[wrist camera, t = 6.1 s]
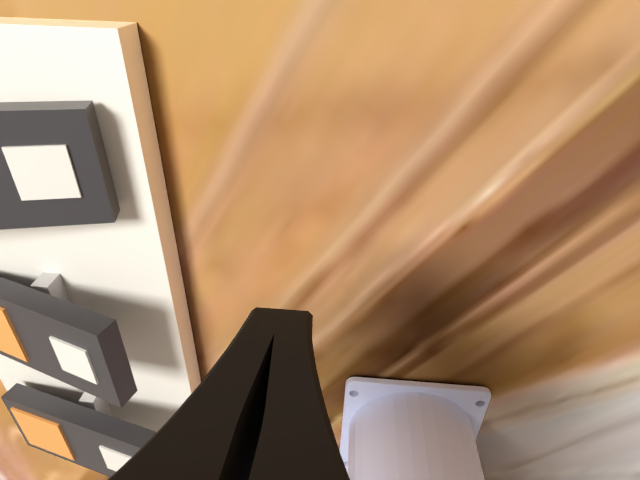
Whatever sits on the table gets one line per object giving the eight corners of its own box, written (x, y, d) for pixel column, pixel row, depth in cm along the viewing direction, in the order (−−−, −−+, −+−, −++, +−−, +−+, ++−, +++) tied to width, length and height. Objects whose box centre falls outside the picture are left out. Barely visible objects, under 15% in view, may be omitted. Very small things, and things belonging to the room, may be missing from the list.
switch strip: (211, 438, 29) (200, 476, 27) (50, 424, 30) (27, 460, 28) (136, 22, 16) (102, 33, 14) (-157, 10, 16) (-232, 19, 14)
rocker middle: (137, 390, 20) (119, 410, 19) (-1, 332, 23) (-22, 347, 22) (115, 319, 18) (93, 337, 17) (-36, 263, 21) (-62, 277, 20)
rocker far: (169, 478, 25) (157, 498, 24) (41, 430, 27) (26, 446, 26) (155, 431, 23) (141, 451, 22) (16, 383, 25) (-2, 399, 24)
